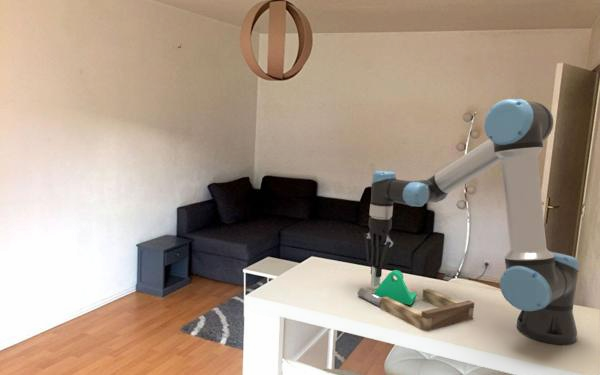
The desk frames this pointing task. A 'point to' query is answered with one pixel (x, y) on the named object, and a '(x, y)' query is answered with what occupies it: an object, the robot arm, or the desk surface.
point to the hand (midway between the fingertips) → (375, 285)
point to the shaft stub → (370, 296)
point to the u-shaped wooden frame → (431, 311)
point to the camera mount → (395, 289)
